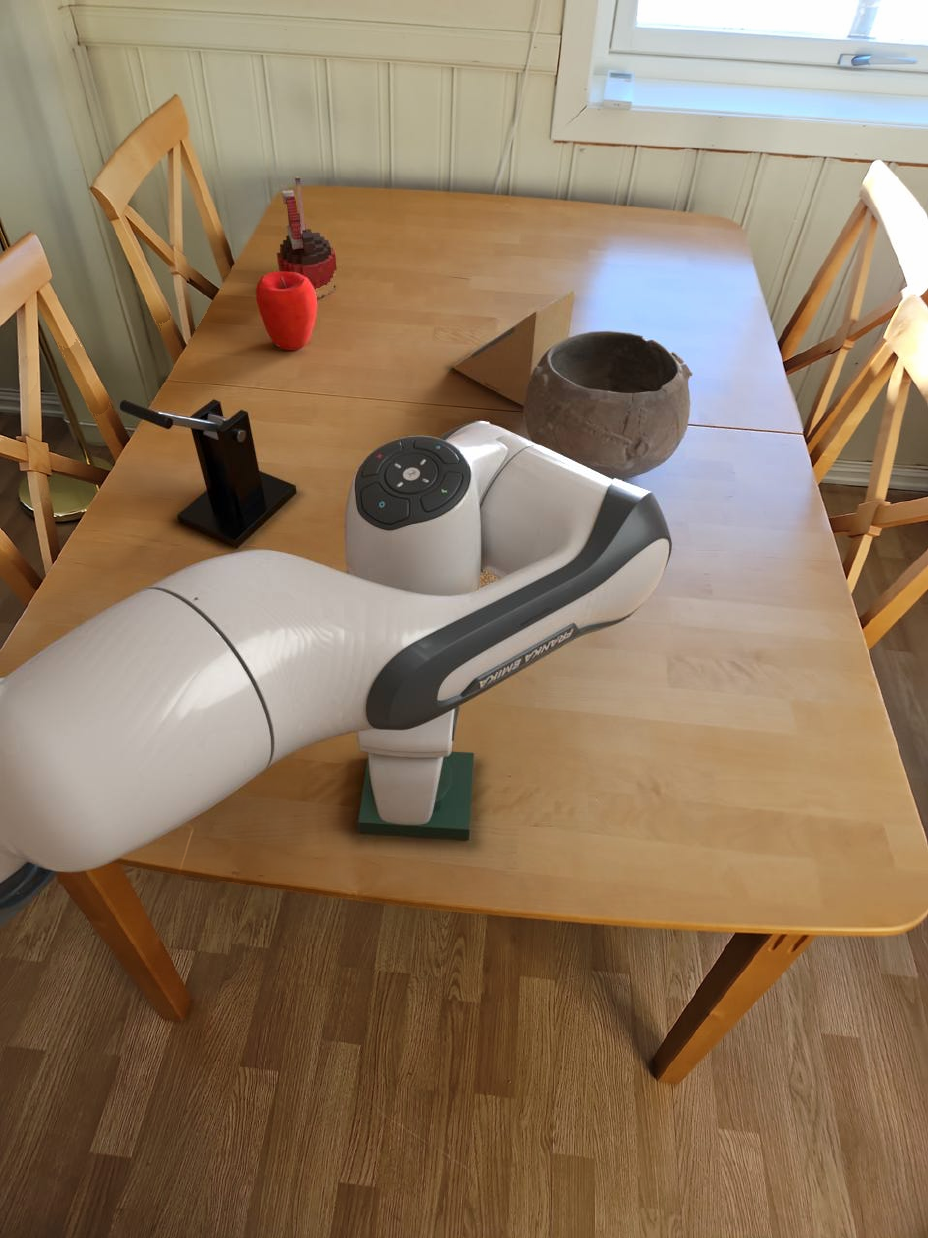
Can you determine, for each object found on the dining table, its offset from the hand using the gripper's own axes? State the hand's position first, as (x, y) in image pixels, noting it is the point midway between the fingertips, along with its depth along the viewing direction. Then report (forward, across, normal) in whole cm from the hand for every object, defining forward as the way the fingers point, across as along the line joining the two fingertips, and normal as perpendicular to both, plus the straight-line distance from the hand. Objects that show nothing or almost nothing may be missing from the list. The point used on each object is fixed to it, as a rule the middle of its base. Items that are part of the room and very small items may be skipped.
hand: (418, 747), depth 70 cm
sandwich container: (+9, -73, +7) cm, 73 cm away
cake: (+9, -96, -28) cm, 101 cm away
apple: (+9, -78, -27) cm, 83 cm away
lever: (-6, -34, -29) cm, 45 cm away
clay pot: (+9, -54, +19) cm, 58 cm away
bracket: (+9, -39, -26) cm, 48 cm away
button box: (+9, 0, 0) cm, 9 cm away
